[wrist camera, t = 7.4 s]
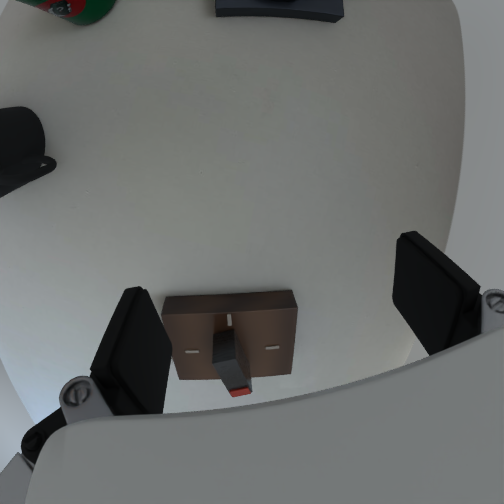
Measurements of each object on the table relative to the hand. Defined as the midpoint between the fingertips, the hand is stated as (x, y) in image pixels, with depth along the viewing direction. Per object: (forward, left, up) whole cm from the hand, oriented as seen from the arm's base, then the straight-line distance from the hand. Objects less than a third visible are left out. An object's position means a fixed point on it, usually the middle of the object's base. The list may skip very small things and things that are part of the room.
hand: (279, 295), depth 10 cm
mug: (+21, -6, -16) cm, 27 cm away
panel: (+2, +16, -16) cm, 23 cm away
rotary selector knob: (+2, +16, -13) cm, 21 cm away
